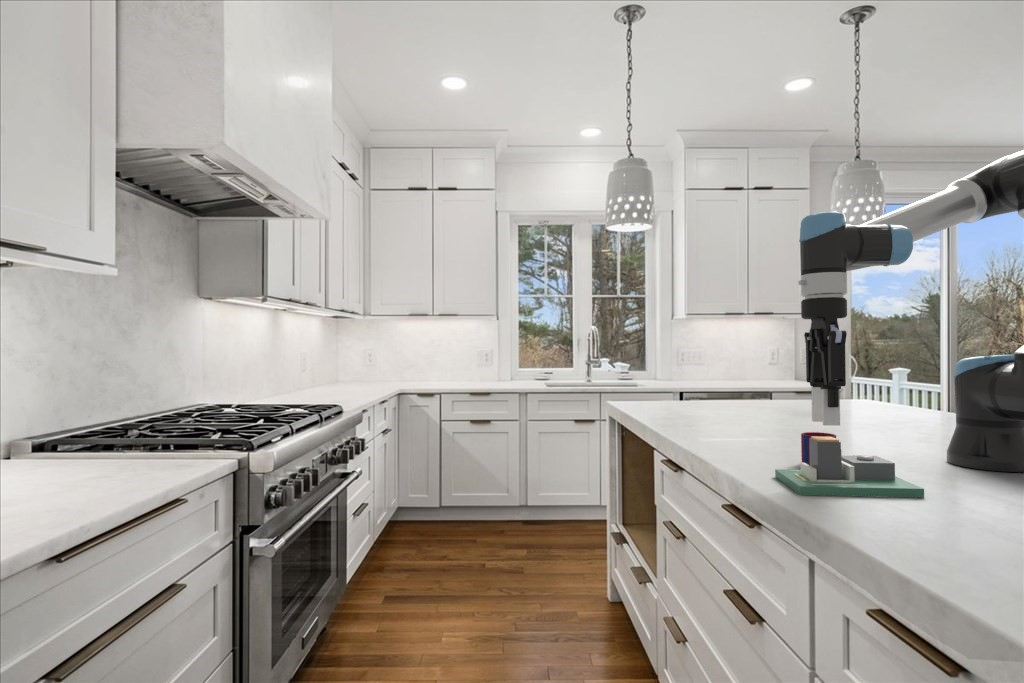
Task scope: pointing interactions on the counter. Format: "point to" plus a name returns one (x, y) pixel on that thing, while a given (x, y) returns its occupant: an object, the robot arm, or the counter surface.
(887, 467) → the grey box with tab
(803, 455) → the mug
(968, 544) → the counter surface
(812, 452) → the grey upright block
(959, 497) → the counter surface
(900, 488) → the board
